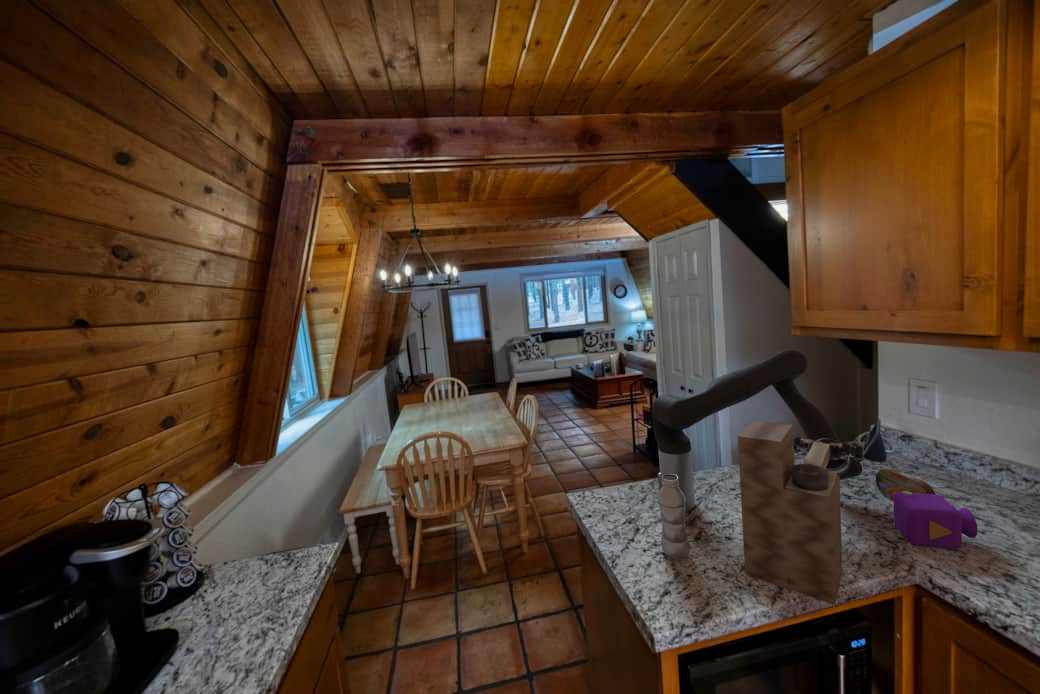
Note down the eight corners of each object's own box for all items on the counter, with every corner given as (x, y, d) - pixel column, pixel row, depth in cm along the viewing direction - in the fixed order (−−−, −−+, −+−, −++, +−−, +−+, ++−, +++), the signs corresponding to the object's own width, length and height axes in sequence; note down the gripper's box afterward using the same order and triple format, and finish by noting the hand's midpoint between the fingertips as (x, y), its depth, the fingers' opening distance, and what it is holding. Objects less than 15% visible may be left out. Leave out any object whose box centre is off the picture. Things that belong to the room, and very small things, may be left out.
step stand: (745, 574, 91) (737, 436, 87) (758, 547, 100) (752, 420, 96) (835, 605, 80) (830, 448, 76) (842, 571, 89) (838, 429, 85)
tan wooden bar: (789, 486, 83) (788, 472, 82) (806, 453, 97) (806, 441, 97) (826, 493, 79) (825, 479, 78) (838, 457, 93) (837, 445, 93)
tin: (874, 492, 118) (874, 464, 117) (885, 490, 118) (885, 463, 117) (927, 519, 103) (927, 487, 102) (939, 517, 103) (939, 486, 102)
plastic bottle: (676, 567, 96) (670, 486, 94) (656, 552, 102) (649, 475, 100) (696, 557, 98) (691, 478, 96) (675, 543, 104) (670, 469, 102)
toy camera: (991, 553, 89) (991, 510, 88) (917, 552, 92) (917, 510, 91) (950, 526, 100) (950, 487, 99) (885, 525, 103) (884, 487, 101)
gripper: (797, 437, 111) (785, 423, 100) (866, 446, 101) (861, 431, 90) (795, 465, 109) (783, 454, 98) (865, 476, 99) (860, 465, 88)
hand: (820, 443), depth 94 cm, fingers open, 8 cm apart
